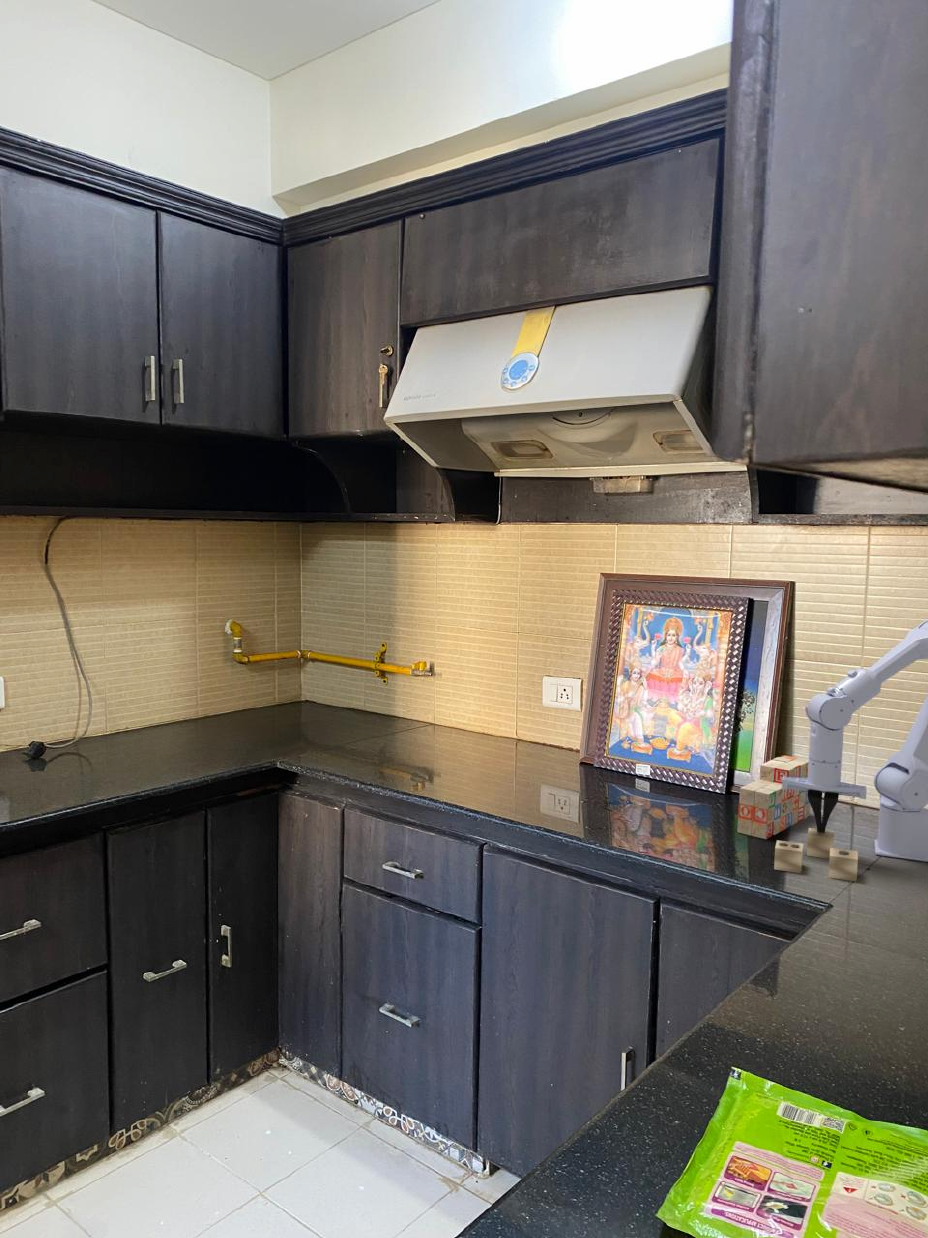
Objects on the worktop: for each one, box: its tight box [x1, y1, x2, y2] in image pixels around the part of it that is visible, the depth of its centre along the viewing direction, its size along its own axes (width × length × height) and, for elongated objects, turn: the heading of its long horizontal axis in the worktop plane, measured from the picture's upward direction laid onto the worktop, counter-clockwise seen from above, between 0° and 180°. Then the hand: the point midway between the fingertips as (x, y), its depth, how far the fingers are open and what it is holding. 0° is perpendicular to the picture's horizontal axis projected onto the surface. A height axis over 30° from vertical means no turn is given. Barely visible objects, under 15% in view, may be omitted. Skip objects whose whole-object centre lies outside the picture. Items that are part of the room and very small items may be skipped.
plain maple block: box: [806, 827, 835, 859], centre depth 172 cm, size 4×4×4 cm
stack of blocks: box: [736, 755, 811, 840], centre depth 189 cm, size 21×6×12 cm, turn 138°
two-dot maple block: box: [773, 839, 804, 874], centre depth 165 cm, size 4×4×4 cm
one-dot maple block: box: [828, 847, 859, 882], centre depth 162 cm, size 4×4×4 cm
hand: (821, 831), depth 172 cm, fingers closed
